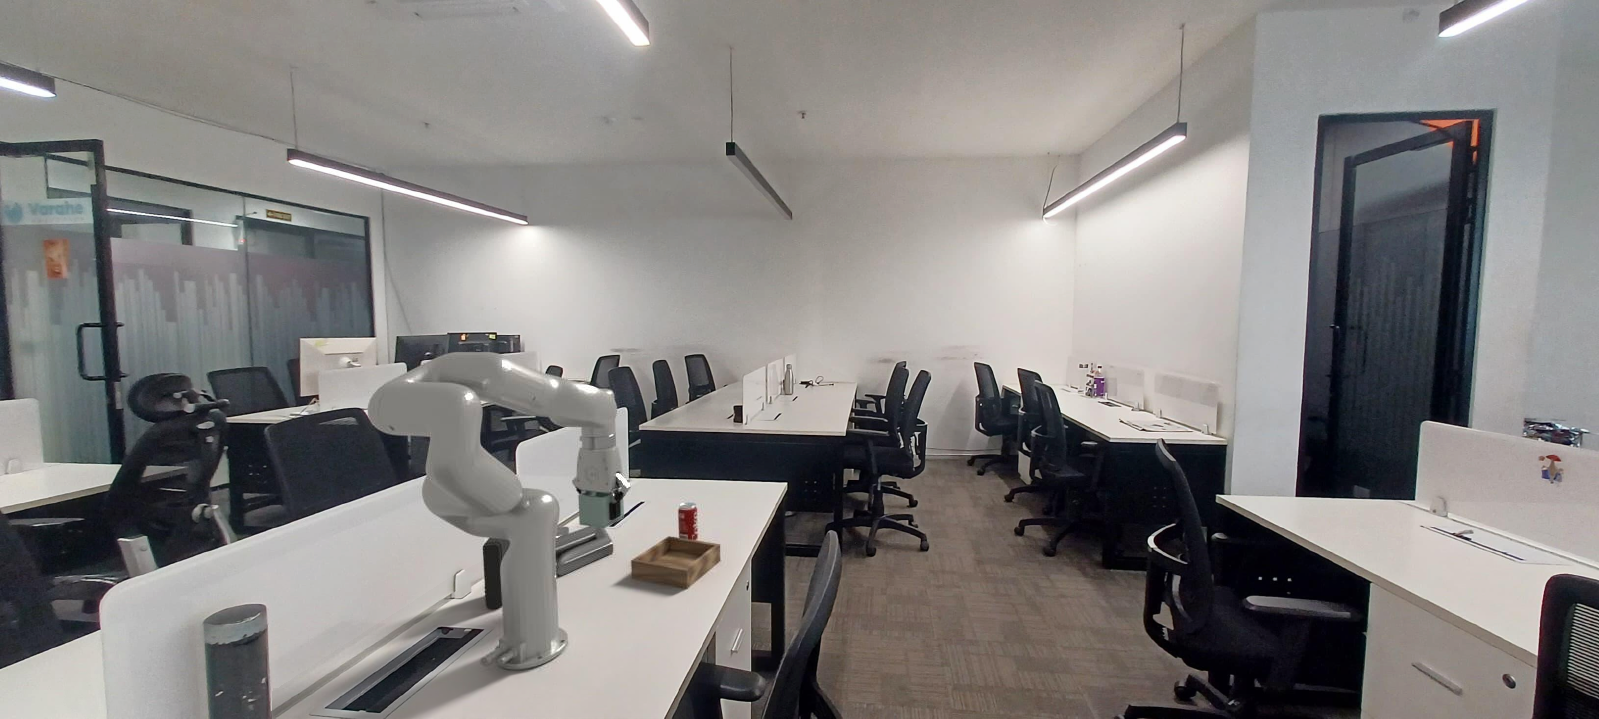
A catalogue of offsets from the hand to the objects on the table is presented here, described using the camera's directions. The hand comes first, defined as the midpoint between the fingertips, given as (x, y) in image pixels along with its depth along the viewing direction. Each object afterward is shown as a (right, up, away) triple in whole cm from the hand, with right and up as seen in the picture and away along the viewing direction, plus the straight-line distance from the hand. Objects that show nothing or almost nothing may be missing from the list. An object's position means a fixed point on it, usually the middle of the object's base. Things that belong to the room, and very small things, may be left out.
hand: (601, 515), depth 128 cm
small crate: (0, -1, 0) cm, 1 cm away
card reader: (-22, -18, -3) cm, 29 cm away
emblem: (-18, -17, +21) cm, 33 cm away
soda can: (+15, -16, +25) cm, 33 cm away
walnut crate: (+15, -17, +11) cm, 25 cm away
